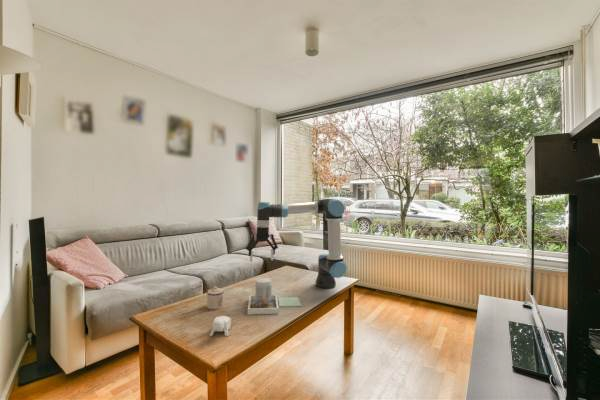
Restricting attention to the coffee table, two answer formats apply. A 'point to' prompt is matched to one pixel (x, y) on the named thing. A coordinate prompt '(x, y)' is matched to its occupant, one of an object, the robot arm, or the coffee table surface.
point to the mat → (289, 302)
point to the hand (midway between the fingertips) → (261, 260)
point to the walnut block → (263, 304)
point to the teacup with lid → (215, 298)
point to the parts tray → (263, 310)
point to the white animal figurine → (221, 325)
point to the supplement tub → (263, 290)
